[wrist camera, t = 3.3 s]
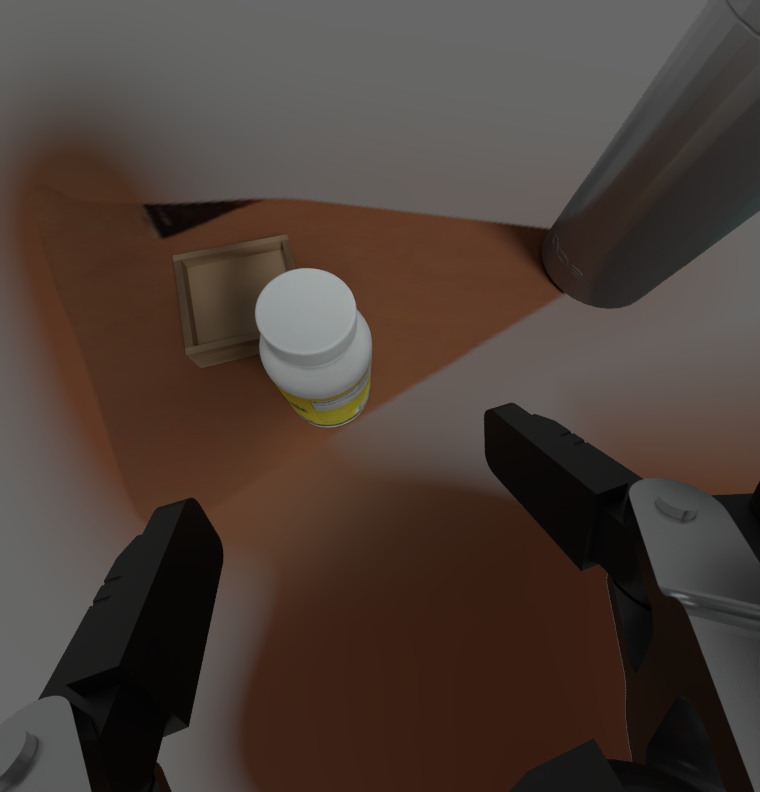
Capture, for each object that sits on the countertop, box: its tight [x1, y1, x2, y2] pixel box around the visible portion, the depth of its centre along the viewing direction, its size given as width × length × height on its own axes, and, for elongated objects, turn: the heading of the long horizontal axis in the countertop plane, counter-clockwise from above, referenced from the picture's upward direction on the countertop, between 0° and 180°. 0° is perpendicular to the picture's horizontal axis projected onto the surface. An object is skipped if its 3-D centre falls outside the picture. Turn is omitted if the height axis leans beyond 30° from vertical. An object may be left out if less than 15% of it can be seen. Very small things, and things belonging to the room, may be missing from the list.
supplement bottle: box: [255, 268, 372, 427], centre depth 17 cm, size 5×5×10 cm
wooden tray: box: [173, 234, 296, 368], centre depth 23 cm, size 8×8×2 cm
